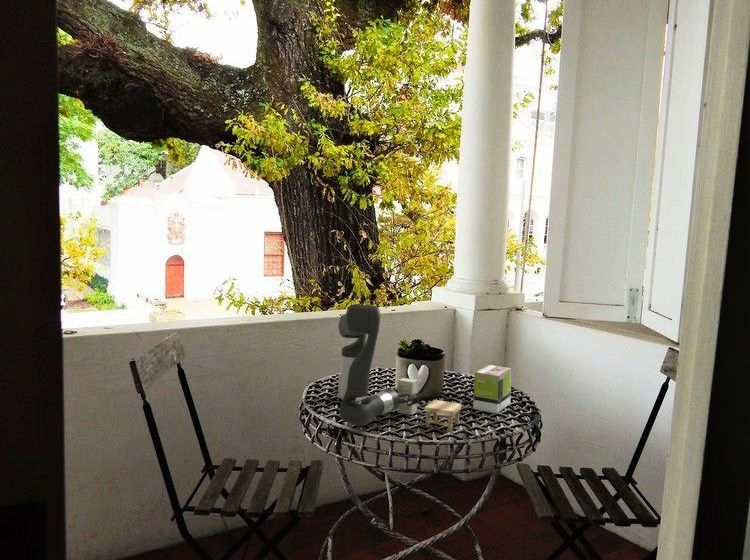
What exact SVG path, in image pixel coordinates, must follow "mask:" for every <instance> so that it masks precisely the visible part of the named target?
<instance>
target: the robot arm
mask: <svg viewBox="0 0 750 560" xmlns="http://www.w3.org/2000/svg"><path fill="white" fill-rule="evenodd" d="M380 324H381V310H380V307H379V306H378V305H371V304H369V305H368V304H360V303H359V304H358V303H353V304H351V305H349V306H348V307H347V309H346V313H345V314H342V315H341V316H340V317H339V322H338V331H339V334H340V336H341V337H342V338H346V339H356V341H354V342H352V343H350V344H347V345H345V346H343V347H341V359H340V361H341V362H340V363H341V364H340V373H339V374H338V381H337V382H338V383H337V384H338V385H337V398H338V399H340V398H341V399H340V400H341V402H340V406H339V409H338V410H339V411H338V412H339V413H338V414H339V417H340V419H341V420H342V421H344V422H347V423H349V424H352V425H355V426H357V427H364V426H367V425H368V424H369V423H370V422H372V420H374V418H376V417H378V416H383V415H386V414H389V413H391V412H393V411H397V408H398V407H399V405H401V404H407V406H411V405H414V404H417V405H418V404H419V400H420V399H421V392H417V393H415V394H410V395H409V394H408V393H398V387H397V388H391V389H389V388H384V389H382V390H379V391H378V392H377V393H375V394H373V395H371V396H370V395H369V396H367V395H368V393H369V392H368V391H369V386H370V376H371V375H370V374H371V368H372V363H373V359H374V356H375V355H374V354H375V350H376V346H377V341H378V336H379V330H380V326H381V325H380ZM366 396H367V397H366ZM405 396H407V398H406V399H405ZM364 397H366V398H364ZM410 397H411V398H410ZM360 401H361V402H360Z"/></svg>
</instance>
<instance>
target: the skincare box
mask: <svg viewBox="0 0 750 560" xmlns="http://www.w3.org/2000/svg"><path fill="white" fill-rule="evenodd" d="M397 388H398V393H408V394H409V395H410V394H415V393H418V379H413V378H405V377H402V378H400V379H398V380H397ZM406 398H407V396H405V399H406ZM410 398H411V397H410ZM396 411H397V413H401V414H404V415H411V416H412V415H414V414H416V413H417V411H418V403H417V404H414V405H411V406H407V404H401V405H399V407H398V408H397V409H396Z"/></svg>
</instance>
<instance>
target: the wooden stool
mask: <svg viewBox="0 0 750 560" xmlns="http://www.w3.org/2000/svg"><path fill="white" fill-rule="evenodd" d="M461 409H462V403H457V402H452V401H446V400H445V401H444V400H438V399H433V400H432V401H431V402H429V403H428V404H427V405H426V406H424V412H425V424H424V425H425V428H429V427H431V424H434V425H441V426H445V427H447V431H449V432H452V431H453V423H454V424H455V423H456V424H455V425H459V424H458V423H460V411H461ZM431 413H433V414H432V419H431ZM439 417H440V418H445V419H447V422H446V421H440V420H438V418H439ZM453 420H454V422H453Z"/></svg>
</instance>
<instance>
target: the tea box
mask: <svg viewBox="0 0 750 560" xmlns="http://www.w3.org/2000/svg"><path fill="white" fill-rule="evenodd" d="M512 371H513V370H512V367H505V366H500V365H491V364H488V365H486V366H484V367H482V368H480V369H478V370H476V371H475V372H474V379H473V381H474V382H473V383H474V384H473V402H472V403H473V407H472V408H473V410H478V411H482V412H483V411H484V412H487V413H492V414H498V413H500V412H501V411H502V410H504V409H505V408H506V407H508V406H510V405H511V399H512V398H511V397H512V396H511V393H512V392H511V391H512Z"/></svg>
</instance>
